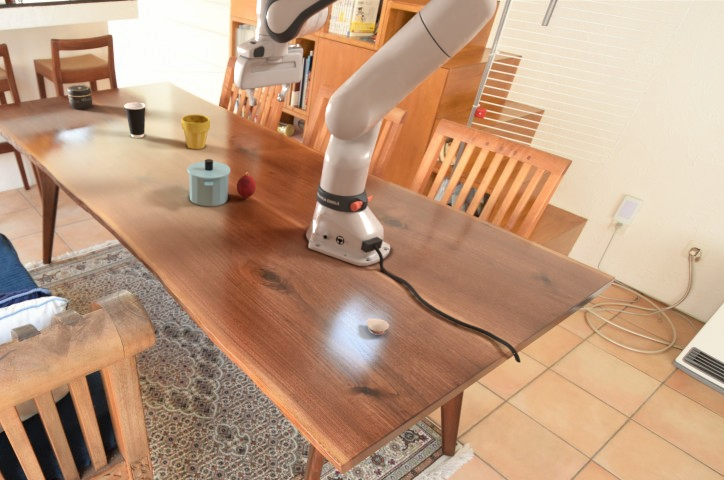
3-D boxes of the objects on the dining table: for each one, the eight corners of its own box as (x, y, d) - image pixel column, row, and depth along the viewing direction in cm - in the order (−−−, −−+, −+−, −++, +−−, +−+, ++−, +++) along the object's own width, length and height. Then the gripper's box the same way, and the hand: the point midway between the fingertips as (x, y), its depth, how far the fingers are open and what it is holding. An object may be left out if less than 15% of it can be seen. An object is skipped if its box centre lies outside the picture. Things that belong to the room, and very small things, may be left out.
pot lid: (229, 164, 148) (229, 152, 146) (230, 181, 139) (231, 169, 136) (188, 164, 148) (187, 152, 146) (186, 181, 138) (186, 168, 136)
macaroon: (377, 340, 100) (380, 330, 98) (358, 327, 103) (361, 318, 101) (390, 332, 102) (394, 323, 100) (372, 320, 105) (375, 310, 103)
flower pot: (214, 149, 180) (214, 121, 173) (187, 152, 177) (186, 124, 170) (204, 140, 187) (204, 113, 180) (178, 143, 184) (177, 115, 177)
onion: (253, 203, 146) (255, 177, 141) (234, 201, 147) (235, 175, 142) (256, 195, 151) (258, 170, 145) (238, 193, 151) (239, 168, 146)
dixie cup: (151, 136, 188) (149, 106, 181) (133, 140, 185) (130, 109, 177) (141, 130, 193) (139, 101, 186) (123, 134, 189) (120, 104, 182)
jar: (86, 102, 220) (83, 83, 215) (97, 107, 215) (94, 88, 210) (66, 105, 216) (62, 86, 210) (76, 111, 210) (73, 92, 205)
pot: (227, 186, 155) (227, 160, 150) (228, 210, 142) (229, 183, 137) (190, 186, 155) (189, 159, 149) (188, 210, 142) (188, 182, 136)
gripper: (296, 41, 133) (291, 96, 142) (231, 46, 125) (230, 104, 134) (310, 45, 129) (304, 101, 138) (244, 51, 121) (242, 111, 130)
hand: (267, 103), depth 136 cm, fingers open, 8 cm apart
